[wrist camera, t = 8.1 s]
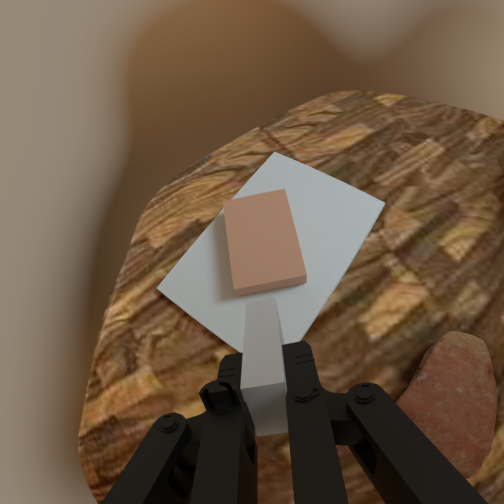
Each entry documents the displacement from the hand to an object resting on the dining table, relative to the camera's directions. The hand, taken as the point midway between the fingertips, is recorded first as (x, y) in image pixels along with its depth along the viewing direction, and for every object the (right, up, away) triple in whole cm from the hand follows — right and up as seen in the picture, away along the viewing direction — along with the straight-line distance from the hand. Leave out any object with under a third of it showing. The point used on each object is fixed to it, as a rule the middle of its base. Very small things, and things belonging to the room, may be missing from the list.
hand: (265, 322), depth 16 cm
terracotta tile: (+1, 0, +19) cm, 19 cm away
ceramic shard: (+22, -14, +11) cm, 28 cm away
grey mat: (+2, +4, +23) cm, 24 cm away
